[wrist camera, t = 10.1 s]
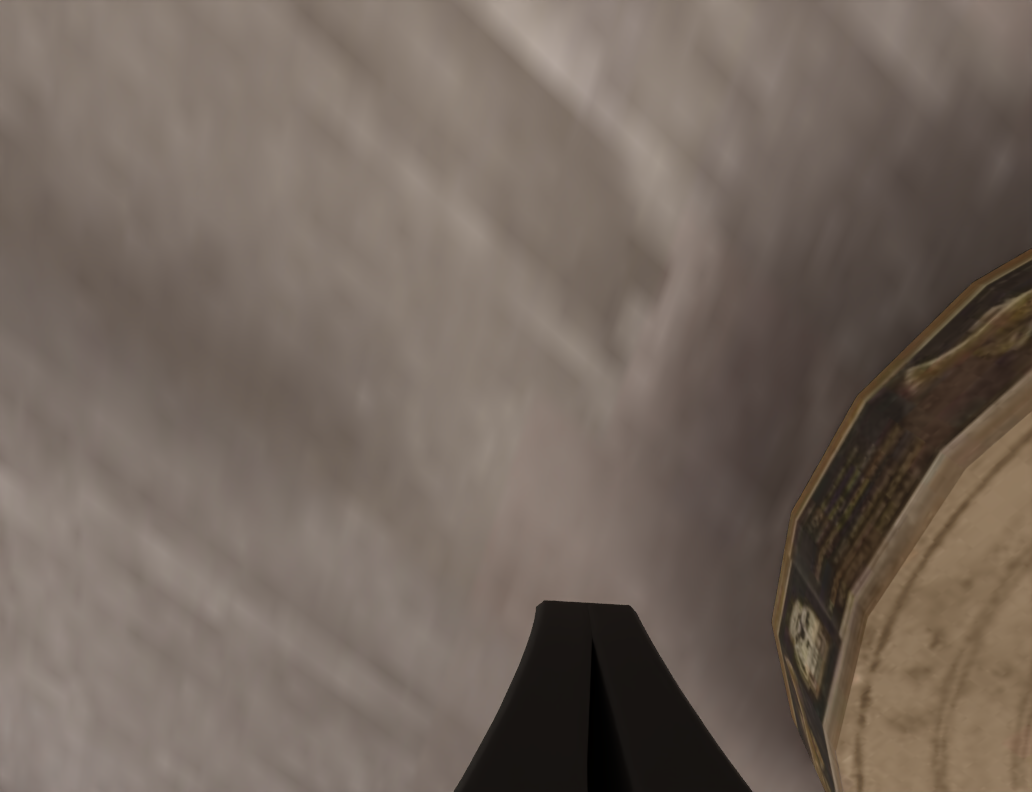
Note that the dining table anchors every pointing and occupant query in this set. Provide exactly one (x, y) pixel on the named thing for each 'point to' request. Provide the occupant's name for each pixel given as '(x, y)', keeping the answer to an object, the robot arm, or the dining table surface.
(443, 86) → the dining table surface
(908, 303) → the dining table surface
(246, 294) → the dining table surface
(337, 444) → the dining table surface
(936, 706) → the tin can
